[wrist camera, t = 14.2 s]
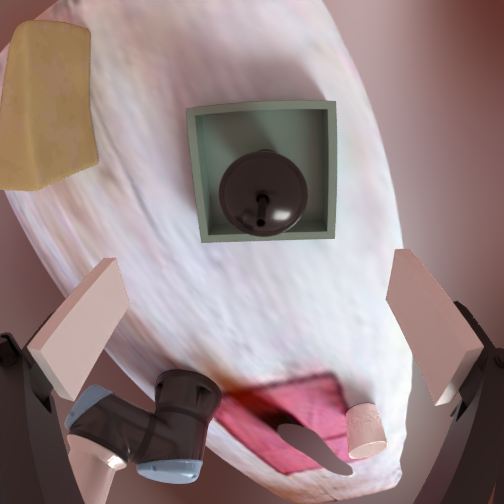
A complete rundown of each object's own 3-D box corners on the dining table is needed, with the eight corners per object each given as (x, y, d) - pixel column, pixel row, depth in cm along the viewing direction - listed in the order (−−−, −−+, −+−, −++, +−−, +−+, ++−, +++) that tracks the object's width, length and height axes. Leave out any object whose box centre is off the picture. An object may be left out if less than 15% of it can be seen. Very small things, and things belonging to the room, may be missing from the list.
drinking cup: (301, 188, 38) (328, 260, 20) (245, 201, 39) (223, 283, 21) (286, 131, 34) (305, 151, 17) (228, 147, 36) (186, 183, 18)
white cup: (341, 406, 61) (347, 448, 50) (379, 397, 59) (389, 437, 48) (344, 423, 65) (349, 461, 54) (378, 414, 63) (386, 452, 52)
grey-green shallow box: (208, 228, 42) (201, 242, 38) (196, 109, 35) (185, 108, 30) (327, 224, 41) (334, 238, 36) (327, 102, 33) (335, 101, 29)
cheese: (64, 36, 28) (-1, 26, 15) (113, 25, 28) (51, 2, 15) (55, 164, 38) (-9, 191, 25) (101, 165, 39) (36, 194, 25)
